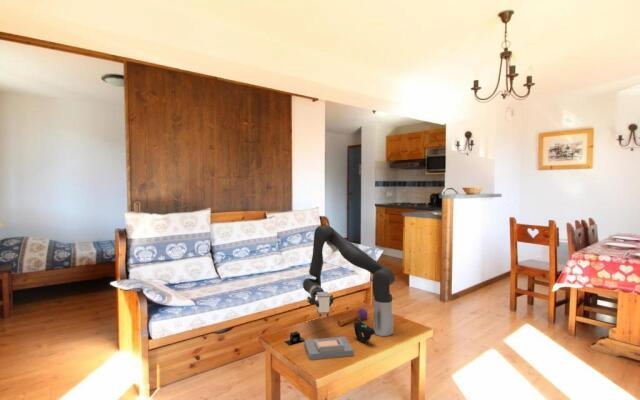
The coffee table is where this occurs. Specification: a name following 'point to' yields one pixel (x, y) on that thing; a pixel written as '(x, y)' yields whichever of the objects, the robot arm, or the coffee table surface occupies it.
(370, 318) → the coffee table surface
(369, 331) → the controller
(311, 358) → the dock
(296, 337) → the black notched block
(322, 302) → the box with lid
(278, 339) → the coffee table surface
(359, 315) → the kendama
